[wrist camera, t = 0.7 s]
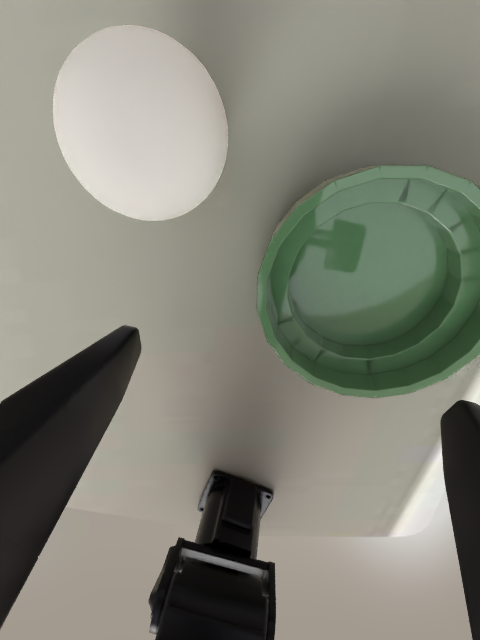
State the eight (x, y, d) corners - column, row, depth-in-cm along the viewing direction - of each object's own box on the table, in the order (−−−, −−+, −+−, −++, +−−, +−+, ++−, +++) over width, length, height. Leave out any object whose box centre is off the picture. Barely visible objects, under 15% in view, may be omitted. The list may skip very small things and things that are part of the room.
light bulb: (199, 54, 18) (81, -95, 8) (273, 154, 19) (251, 135, 9) (127, 143, 20) (-31, 115, 10) (197, 226, 22) (116, 269, 12)
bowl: (403, 386, 24) (422, 425, 21) (238, 326, 25) (228, 354, 21) (527, 212, 18) (587, 222, 15) (309, 133, 18) (313, 123, 15)
